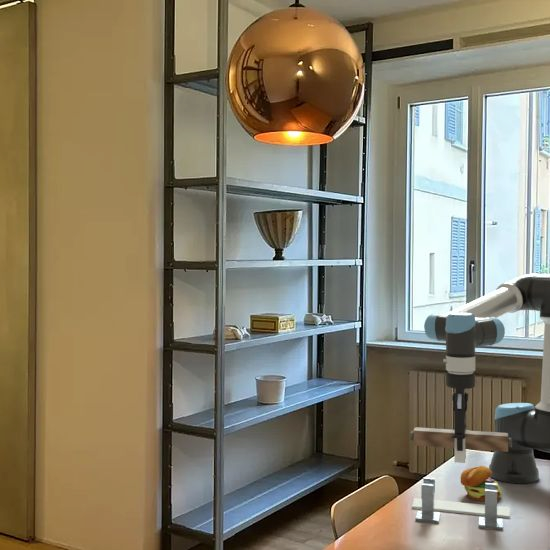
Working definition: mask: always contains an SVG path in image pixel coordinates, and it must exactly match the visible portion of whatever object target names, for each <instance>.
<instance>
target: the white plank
mask: <svg viewBox="0 0 550 550" xmlns="http://www.w3.org/2000/svg"><path fill="white" fill-rule="evenodd" d="M411 509H415V510H422V499H421V498H419V497H414V498H413V502H412V505H411ZM434 512H446V513H454V514H456V513H457V514H465V515H477V516H482V517H485V504H482V503H481V504H480V503H471V502H459V501H451V500H450V501H449V500H438V499H434ZM497 518H501V519H511V509H510V506H502V505H501V506H500V505H497Z"/></svg>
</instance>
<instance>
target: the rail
mask: <svg viewBox="0 0 550 550" xmlns="http://www.w3.org/2000/svg"><path fill="white" fill-rule="evenodd" d="M467 430H468V429H466V430H465V449H466V450H476V451H477V450H478V451H491V452H494V451H503V452H508V447H512V438H508V433H499V432H495V431H479V430H468V431H467ZM454 434H455V429H447V428H431V427H418V426H417V427H415V426H414V429H413V430H411V431H410V432H409V441H413V446H417V447H418V446H419V447H430V448H432V447H433V448H448V449H455V438H452V435H454Z"/></svg>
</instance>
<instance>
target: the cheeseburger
mask: <svg viewBox="0 0 550 550" xmlns="http://www.w3.org/2000/svg"><path fill="white" fill-rule="evenodd" d="M491 475H492V471H491V470H490V469H489V467H488V466H485V465H479V466H475V467H470V468H467V469H464V470H463V471H462V472H461V473H460V485H462V486H464V487H463V488H464V490H465V491H466V493H467V496H468V497H469V498H471V499H473V500H476V501H479V502H485V483H493V484H497V499H500V498H501V497H502V495H503V493H502V492H503V491H501V487H500V486H499V483H498V481H496V480H495V479H494V478H492V477H491Z"/></svg>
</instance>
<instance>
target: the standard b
mask: <svg viewBox="0 0 550 550" xmlns="http://www.w3.org/2000/svg"><path fill="white" fill-rule="evenodd" d="M484 505H485V516H478V528H479V529H484V530H485V529H487V530H497V531H504V521H503V519H504V518H498V517H497V506H498V498H497V484H493V483H485V501H484Z"/></svg>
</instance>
